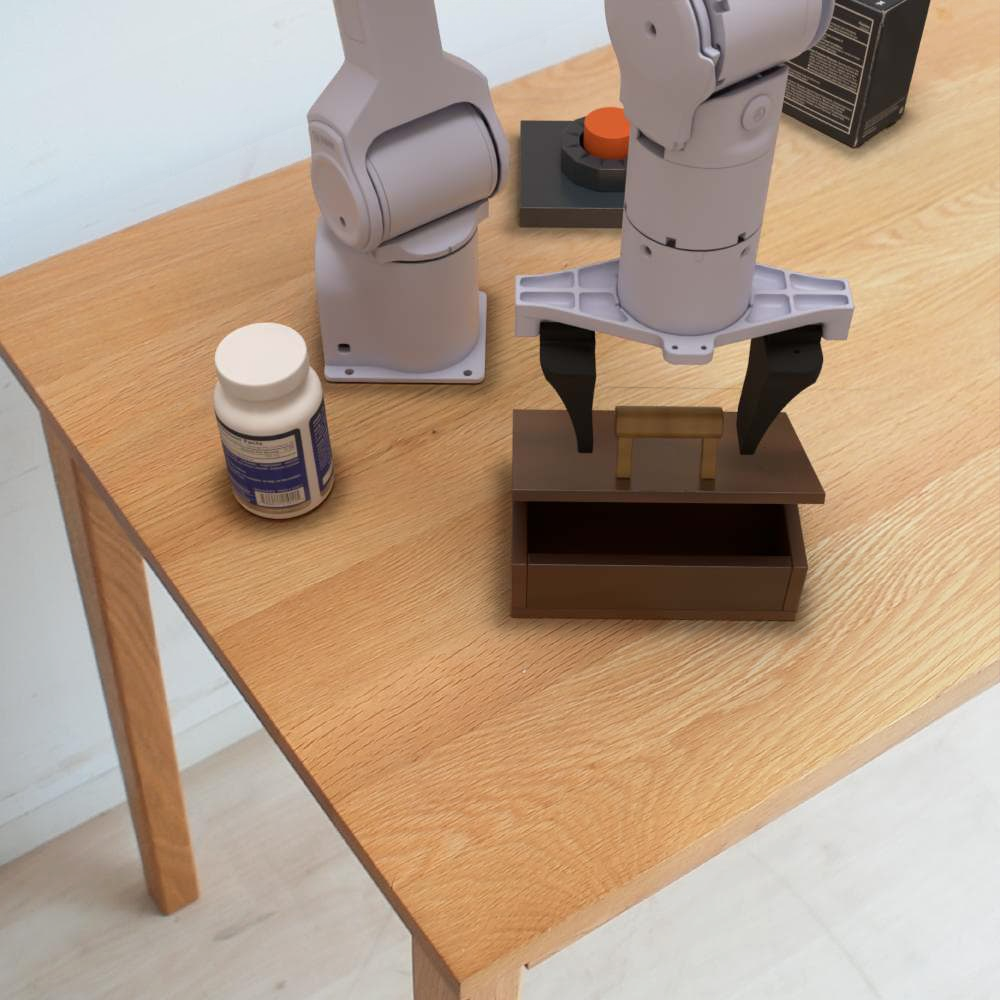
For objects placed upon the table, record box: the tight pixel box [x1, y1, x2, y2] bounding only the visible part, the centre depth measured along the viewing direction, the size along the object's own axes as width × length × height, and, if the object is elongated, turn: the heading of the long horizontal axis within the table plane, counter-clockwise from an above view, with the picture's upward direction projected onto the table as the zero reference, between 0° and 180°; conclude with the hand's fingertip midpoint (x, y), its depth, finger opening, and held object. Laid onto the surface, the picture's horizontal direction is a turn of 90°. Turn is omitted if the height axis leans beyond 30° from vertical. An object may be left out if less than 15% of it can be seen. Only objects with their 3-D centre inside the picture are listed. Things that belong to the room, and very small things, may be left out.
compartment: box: [510, 500, 809, 621], centre depth 76 cm, size 10×15×4 cm
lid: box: [511, 405, 827, 505], centre depth 72 cm, size 11×15×4 cm
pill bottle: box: [212, 322, 335, 520], centre depth 77 cm, size 6×6×10 cm
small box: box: [782, 0, 932, 148], centre depth 101 cm, size 11×6×10 cm, turn 44°
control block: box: [518, 115, 628, 229], centre depth 97 cm, size 12×10×4 cm
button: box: [583, 106, 631, 159], centre depth 96 cm, size 4×4×2 cm
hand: (664, 439), depth 69 cm, fingers open, 7 cm apart
